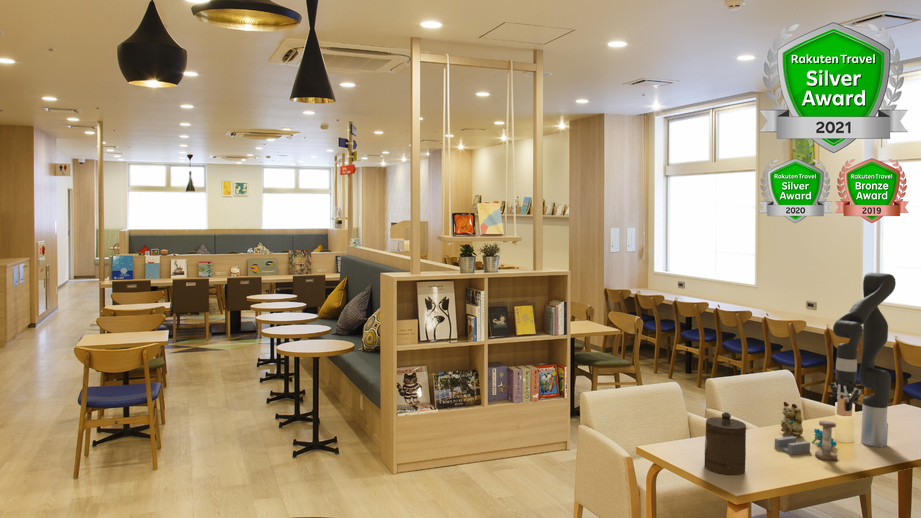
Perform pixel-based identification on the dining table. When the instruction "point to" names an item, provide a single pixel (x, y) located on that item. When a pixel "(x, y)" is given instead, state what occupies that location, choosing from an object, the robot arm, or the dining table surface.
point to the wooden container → (725, 445)
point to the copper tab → (843, 407)
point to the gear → (819, 437)
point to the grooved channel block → (792, 445)
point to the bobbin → (826, 442)
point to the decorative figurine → (791, 420)
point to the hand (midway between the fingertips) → (844, 409)
